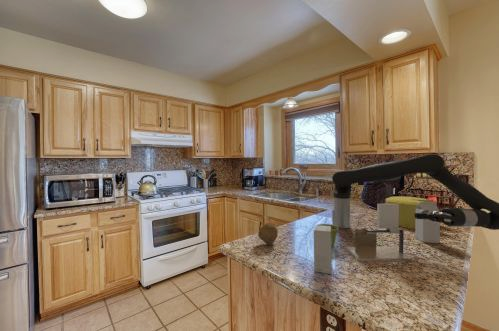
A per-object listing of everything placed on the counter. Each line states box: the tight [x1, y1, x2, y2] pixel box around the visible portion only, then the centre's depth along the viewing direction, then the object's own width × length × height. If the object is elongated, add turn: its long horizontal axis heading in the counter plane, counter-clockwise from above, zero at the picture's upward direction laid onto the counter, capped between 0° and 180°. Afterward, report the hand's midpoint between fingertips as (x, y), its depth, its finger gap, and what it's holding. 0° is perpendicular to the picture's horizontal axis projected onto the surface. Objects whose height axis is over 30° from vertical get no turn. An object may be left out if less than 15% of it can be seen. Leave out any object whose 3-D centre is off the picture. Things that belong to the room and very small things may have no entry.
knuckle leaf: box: [376, 203, 401, 234], centre depth 94 cm, size 8×3×12 cm, turn 90°
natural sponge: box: [257, 222, 279, 246], centre depth 105 cm, size 9×9×10 cm
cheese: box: [385, 195, 435, 229], centre depth 142 cm, size 26×26×15 cm
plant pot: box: [318, 223, 340, 248], centre depth 104 cm, size 9×9×9 cm
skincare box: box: [313, 224, 333, 275], centre depth 83 cm, size 8×6×15 cm
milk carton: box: [414, 201, 441, 244], centre depth 111 cm, size 7×7×19 cm
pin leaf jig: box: [345, 228, 414, 262], centre depth 94 cm, size 21×12×11 cm, turn 90°
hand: (415, 215), depth 94 cm, fingers closed
